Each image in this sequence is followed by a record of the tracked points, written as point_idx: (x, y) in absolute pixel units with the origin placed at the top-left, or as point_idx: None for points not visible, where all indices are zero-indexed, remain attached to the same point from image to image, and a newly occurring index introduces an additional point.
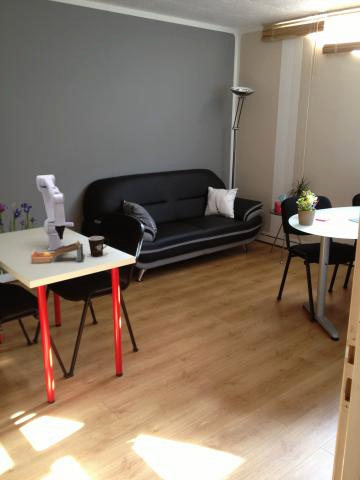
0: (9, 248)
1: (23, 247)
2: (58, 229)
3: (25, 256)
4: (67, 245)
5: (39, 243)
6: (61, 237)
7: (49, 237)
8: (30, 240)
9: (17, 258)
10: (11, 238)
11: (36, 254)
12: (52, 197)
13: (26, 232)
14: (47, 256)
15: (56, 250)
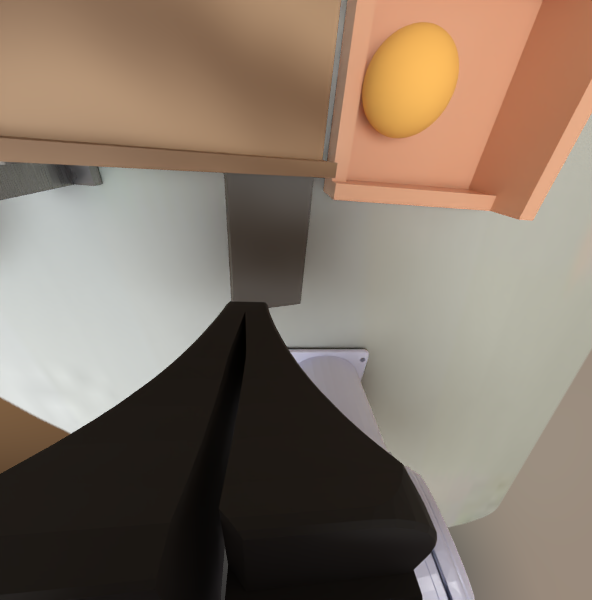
0: (543, 395)
1: (478, 403)
2: (265, 471)
3: (522, 253)
4: (130, 156)
5: (396, 443)
6: (231, 314)
7: (377, 437)
8: (427, 470)
9: (589, 215)
10: (488, 485)
11: (488, 191)
12: None
13: None
14: (410, 25)
15: (304, 159)
